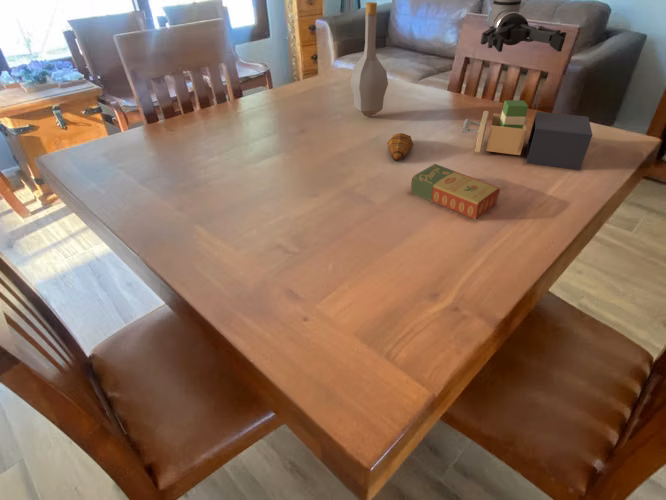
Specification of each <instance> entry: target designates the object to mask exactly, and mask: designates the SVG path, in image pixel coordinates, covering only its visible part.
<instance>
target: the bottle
mask: <svg viewBox="0 0 666 500" xmlns="http://www.w3.org/2000/svg"><path fill="white" fill-rule="evenodd" d="M377 6H378V2H374V1H372V2H371V1H370V2H365V12H364V14H365V15H364V18H365V28H364V29H365V32H364V33H365V34H364V41H365V43H364V48H363V49H364V50H363V55H362V56H361V58H360V59H359V60H358V61H357V62H356V63H355V65H354V66H353V67H352V68H353V69H352V72H351V73H352V74H351V78H350V83H349V84H350V88H351V91H352V95H353V107H354V108H355V109H356V110H358V111H359V112H360V113H361V114H362V115H363V116H364V117H367V118H369V117H372V116H375V115H376V114H378V113H379V112H380V111H382V110H383V108H384V100H385V96H386V95H385V94H386V92H387V88H388V85H389V80H388V74H387V69H386V68H385V67H384V66H383V65H382V63H381V61H380V60H379V59H378V57H377V49H376V48H377V47H376V42H377V40H376V39H377V20H378V12H377Z"/></svg>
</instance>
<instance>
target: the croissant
mask: <svg viewBox="0 0 666 500" xmlns="http://www.w3.org/2000/svg"><path fill="white" fill-rule="evenodd" d="M386 145H387V148H388V152H389V154H390V157H391V159H392V160H393V161H394V162H401V161H402V160H403V159H404V158H405V157H406V156H407V155H408V153H410V151H411V150H412V148H413V147H414V145H415V144H414V141H413V139H412V136H411V135H409V134H405V133H402V132H400V133H396V134H392V135H391V137H390V138H389V139H388V141H387V142H386Z"/></svg>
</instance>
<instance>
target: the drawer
mask: <svg viewBox="0 0 666 500" xmlns="http://www.w3.org/2000/svg"><path fill="white" fill-rule="evenodd" d="M489 114H490V111H488V110H484V111H483V114H482V117H481V120H480V122H479V121H472V120H471V119H470V118H466V119H465V120H464V122H463V124H462V128H461V130H460V131H461V133H462V134H468V133H475V134H476V133H477V139H476V144H475V149H474V153H481V150H482V145H483V141H484V137H485V134H486V128H487V124H488V119H489ZM501 114H502V113H493V115H492V121H491V125H490V129H489V134H488V138H487V144H486V148H485V151H486V152H491V153H499V154H507V155H514V156H521V154H522V151H523V146H524V142H525V138H526V136H527V131H528V119H529V118H528V116H526V118H525V122H524V125H523V128H522V129H521V128H512V127H503V126H499V124H500V120H501ZM471 126H479V128H478V129H475V128H471Z"/></svg>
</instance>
